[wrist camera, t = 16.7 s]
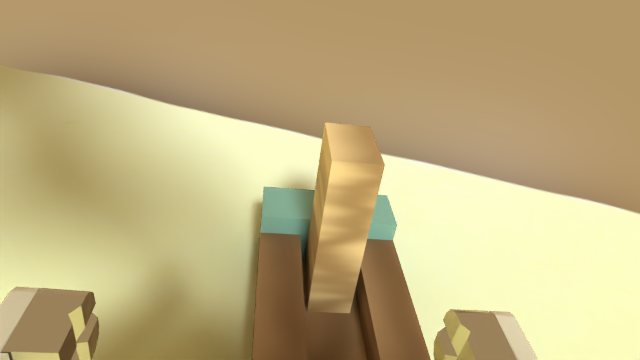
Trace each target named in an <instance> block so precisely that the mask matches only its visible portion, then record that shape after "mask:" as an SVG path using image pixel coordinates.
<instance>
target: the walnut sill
mask: <svg viewBox="0 0 640 360" xmlns="http://www.w3.org/2000/svg"><path fill="white" fill-rule="evenodd" d="M314 194H315V190H303V189H289V188H275V187H264V191H263V204H262V217H261V229H260V243H259V258H258V273H257V288H256V303H255V318H254V333H253V348H252V360H431V359H430V356H429V353H428V350H427V347H426V344H425V340H424V337H423V334H422V331H421V328H420V325H419V321H418V318H417V315H416V312H415V309H414V306H413V303H412V299H411V296H410V293H409V290H408V287H407V284H406V280H405V277H404V274H403V271H402V268H401V265H400V262H399V258H398V255H397V252H396V249H395V246H394V243H393V237H394V234H395V230H396V226H397V224H396V221H395V218H394V215H393V212H392V209H391V206H390V203H389V200H388V198H387V196H386V195H377V199H376V204H375V208H374V212H373V216H372V221H371V225H370V229H369V234H368V238H367V242H366V246H365V251H364V255H363V259H362V263H361V268H360V272H359V276H358V280H357V285H356V289H355V293H354V297H353V302H352V306H351V310H350V313H330V312H307V301H306V284H305V266H304V261H305V254H306V248H307V241H308V234H309V227H310V221H311V214H312V207H313V200H314Z"/></svg>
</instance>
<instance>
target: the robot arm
mask: <svg viewBox="0 0 640 360" xmlns="http://www.w3.org/2000/svg"><path fill="white" fill-rule="evenodd" d="M95 304H96V303H95V298H94V293H92V292H88V291H74V290H61V289H48V288H29V287H15V288H14V289H13V290H11V291H10V292H9V293H8V295H7V296H6V298H5V299H4V301H3V302H2V304H1V305H0V360H92V357H93V354H94V352H95V349H96V345H97V340H98V335H99V323H98V317H96V316H95V315H94V314H93V313H92V311H93V308H94V306H95ZM443 321H444V324H445V326H446V327H445V328H443V329H442V330H440V331H439V332H438V333H437V336H436V338H435V341H434V359H435V360H538V359H537V357H536V355H535V353H534V351H533V349H532V348H531V346H530V344H529V342H528V340H527V339H526V337H525V335H524V333H523V331H522V330H521V328H520V326H519V324H518V322H517V321H516V319H515V317H514V315H512V314H511V313H510V312H497V311H489V312H488V311H478V310H452V309H450V310H449V311H448V312H447V313H446V315H445V317H444V319H443Z"/></svg>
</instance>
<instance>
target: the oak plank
mask: <svg viewBox="0 0 640 360" xmlns="http://www.w3.org/2000/svg"><path fill="white" fill-rule="evenodd" d="M383 170H384V162H383V159H382V157H381V154H380V151H379V149H378V146H377V143H376V141H375V138H374V135H373V133H372V130H371V127H368V126H357V125H346V124H335V123H325V127H324V133H323V140H322V147H321V153H320V160H319V167H318V174H317V180H316V187H315V194H314V200H313V207H312V214H311V221H310V227H309V234H308V241H307V248H306V254H305V261H304V266H305V284H306V301H307V312H330V313H350V310H351V306H352V302H353V297H354V293H355V289H356V285H357V280H358V276H359V272H360V268H361V263H362V259H363V255H364V251H365V246H366V242H367V238H368V234H369V229H370V225H371V221H372V216H373V212H374V208H375V204H376V199H377V195H378V191H379V187H380V182H381V178H382V174H383Z"/></svg>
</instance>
